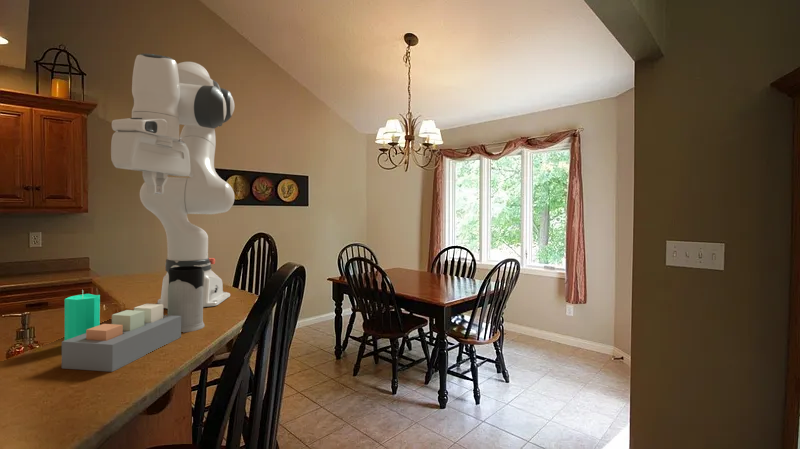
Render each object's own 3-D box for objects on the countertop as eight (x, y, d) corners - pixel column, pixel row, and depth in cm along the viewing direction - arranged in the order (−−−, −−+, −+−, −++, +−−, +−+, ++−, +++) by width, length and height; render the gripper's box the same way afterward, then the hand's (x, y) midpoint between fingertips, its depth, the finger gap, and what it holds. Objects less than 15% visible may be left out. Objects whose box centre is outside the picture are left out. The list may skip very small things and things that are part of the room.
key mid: (126, 337, 85) (126, 309, 85) (144, 338, 85) (144, 310, 85) (111, 343, 81) (111, 314, 81) (130, 345, 81) (130, 315, 81)
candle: (80, 350, 82) (80, 293, 82) (56, 347, 83) (56, 291, 83) (106, 341, 88) (107, 288, 88) (84, 339, 89) (84, 286, 89)
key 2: (146, 329, 91) (146, 303, 91) (163, 330, 91) (163, 304, 91) (133, 334, 87) (133, 307, 87) (150, 335, 87) (151, 308, 87)
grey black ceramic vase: (157, 332, 96) (158, 270, 95) (186, 316, 110) (187, 262, 109) (195, 332, 96) (196, 271, 96) (218, 317, 110) (219, 263, 110)
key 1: (103, 353, 79) (103, 323, 79) (122, 354, 79) (122, 324, 79) (86, 360, 75) (86, 329, 75) (106, 362, 75) (106, 330, 75)
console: (140, 334, 93) (140, 313, 93) (180, 337, 93) (181, 315, 92) (61, 368, 73) (61, 341, 73) (112, 371, 73) (112, 344, 73)
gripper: (173, 138, 97) (172, 195, 97) (104, 119, 76) (103, 191, 77) (197, 139, 96) (197, 196, 97) (135, 119, 76) (134, 192, 76)
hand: (155, 193), depth 87 cm, fingers closed
